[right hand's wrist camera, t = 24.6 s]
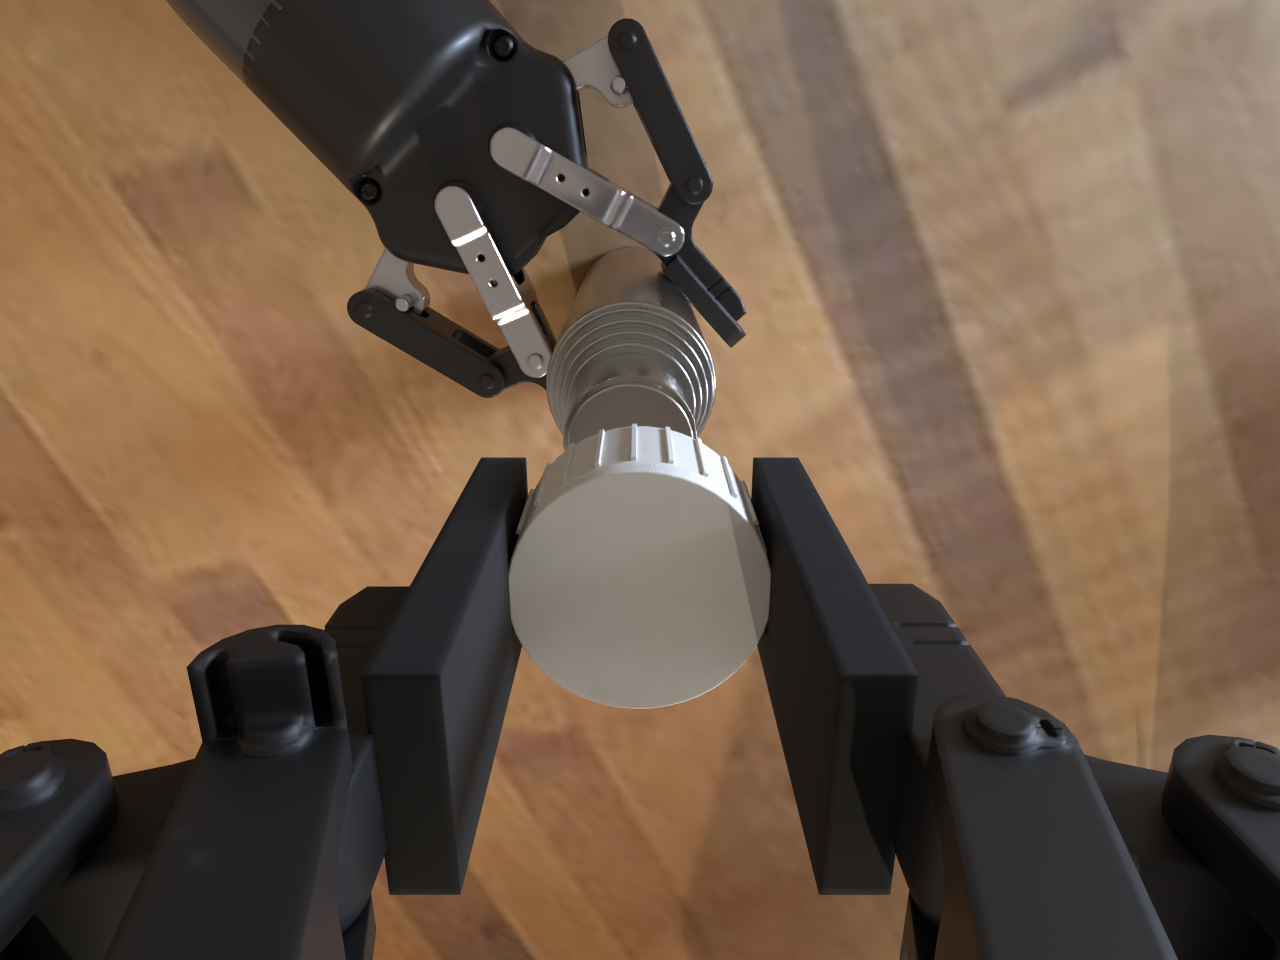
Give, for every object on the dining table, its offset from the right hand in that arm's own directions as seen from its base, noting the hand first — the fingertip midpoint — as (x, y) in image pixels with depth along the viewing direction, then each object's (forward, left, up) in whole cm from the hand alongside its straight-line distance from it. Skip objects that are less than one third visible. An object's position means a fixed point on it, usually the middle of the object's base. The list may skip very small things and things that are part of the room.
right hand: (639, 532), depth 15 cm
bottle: (0, 0, -24) cm, 24 cm away
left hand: (-1, +2, -17) cm, 17 cm away
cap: (0, 0, +2) cm, 2 cm away
